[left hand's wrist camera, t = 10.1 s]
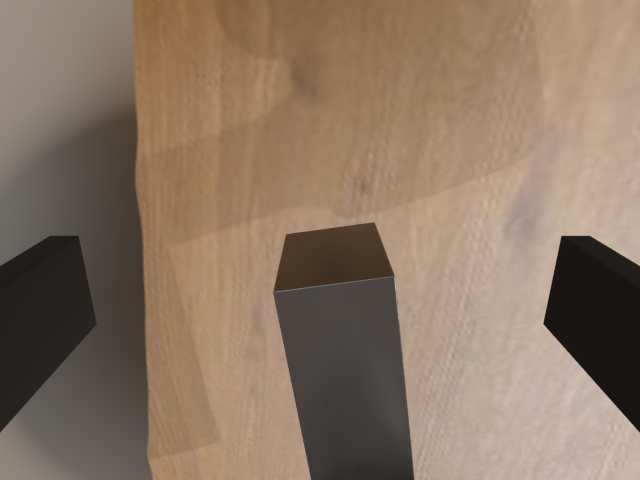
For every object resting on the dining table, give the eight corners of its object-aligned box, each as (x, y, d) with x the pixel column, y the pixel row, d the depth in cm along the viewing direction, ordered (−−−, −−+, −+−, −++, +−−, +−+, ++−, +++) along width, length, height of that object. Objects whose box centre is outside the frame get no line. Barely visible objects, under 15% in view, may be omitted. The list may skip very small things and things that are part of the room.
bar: (285, 234, 28) (272, 291, 20) (374, 221, 27) (395, 275, 20) (338, 524, 37) (343, 639, 29) (406, 517, 36) (428, 631, 29)
